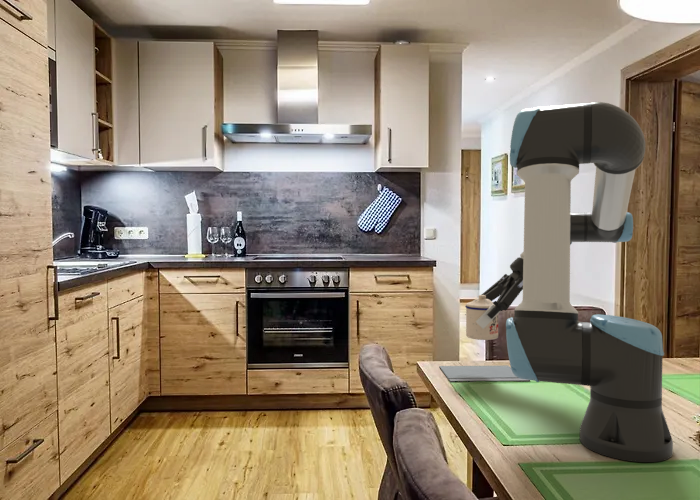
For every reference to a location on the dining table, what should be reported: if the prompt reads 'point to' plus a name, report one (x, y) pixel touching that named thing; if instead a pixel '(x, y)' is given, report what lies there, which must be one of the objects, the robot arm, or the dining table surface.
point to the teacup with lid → (473, 313)
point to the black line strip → (489, 379)
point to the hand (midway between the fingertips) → (473, 321)
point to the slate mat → (477, 372)
